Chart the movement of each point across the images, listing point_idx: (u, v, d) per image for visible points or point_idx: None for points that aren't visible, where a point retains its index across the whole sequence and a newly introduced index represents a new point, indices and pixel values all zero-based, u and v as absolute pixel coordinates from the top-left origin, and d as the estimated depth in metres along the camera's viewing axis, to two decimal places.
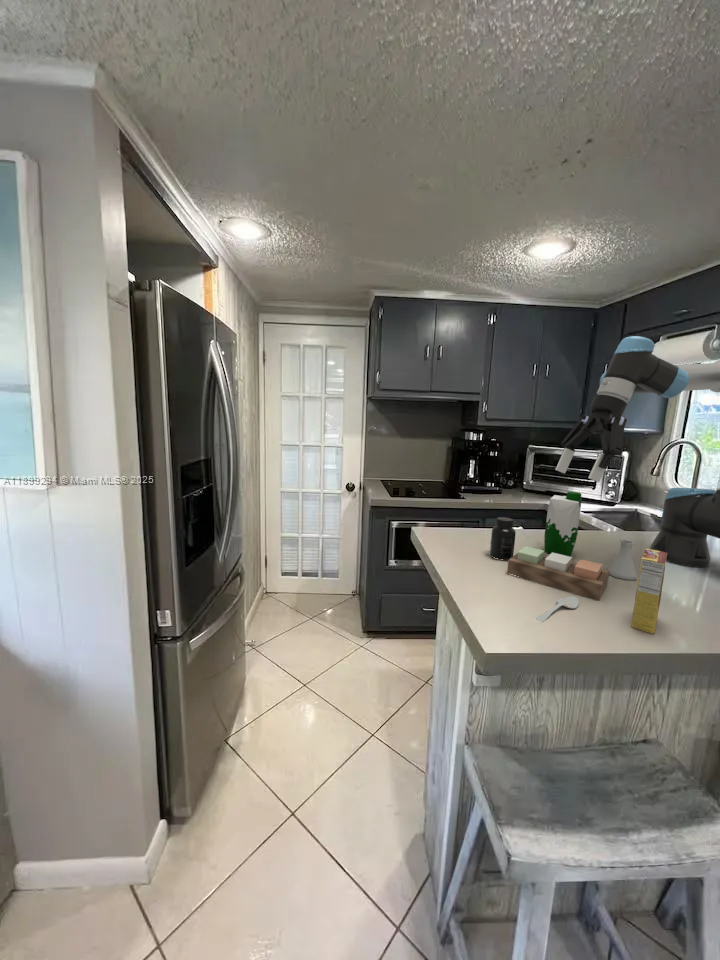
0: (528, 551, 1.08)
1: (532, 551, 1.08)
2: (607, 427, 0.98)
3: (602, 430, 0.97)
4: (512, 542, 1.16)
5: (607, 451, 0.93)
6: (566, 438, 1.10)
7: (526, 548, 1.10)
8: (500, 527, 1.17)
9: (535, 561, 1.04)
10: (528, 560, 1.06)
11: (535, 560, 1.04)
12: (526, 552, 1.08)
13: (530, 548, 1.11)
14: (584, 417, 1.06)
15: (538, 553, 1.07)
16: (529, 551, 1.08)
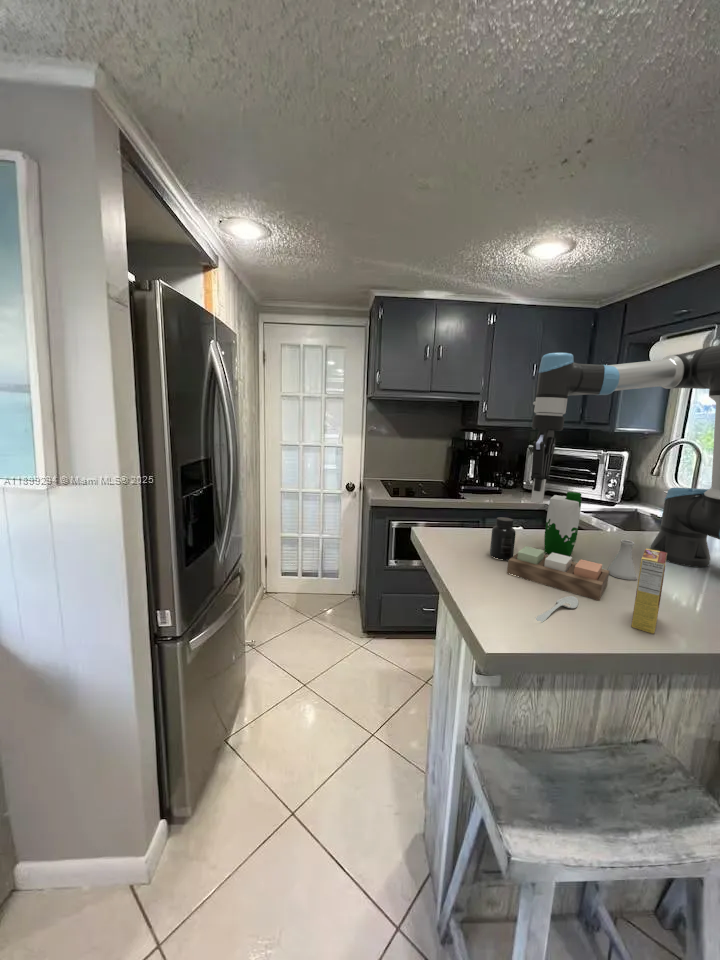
0: (528, 551, 1.08)
1: (532, 551, 1.08)
2: None
3: None
4: (512, 542, 1.16)
5: (533, 477, 1.05)
6: None
7: (526, 548, 1.10)
8: (500, 527, 1.17)
9: (535, 561, 1.04)
10: (528, 560, 1.06)
11: (535, 560, 1.04)
12: (526, 552, 1.08)
13: (530, 548, 1.11)
14: None
15: (538, 553, 1.07)
16: (529, 551, 1.08)
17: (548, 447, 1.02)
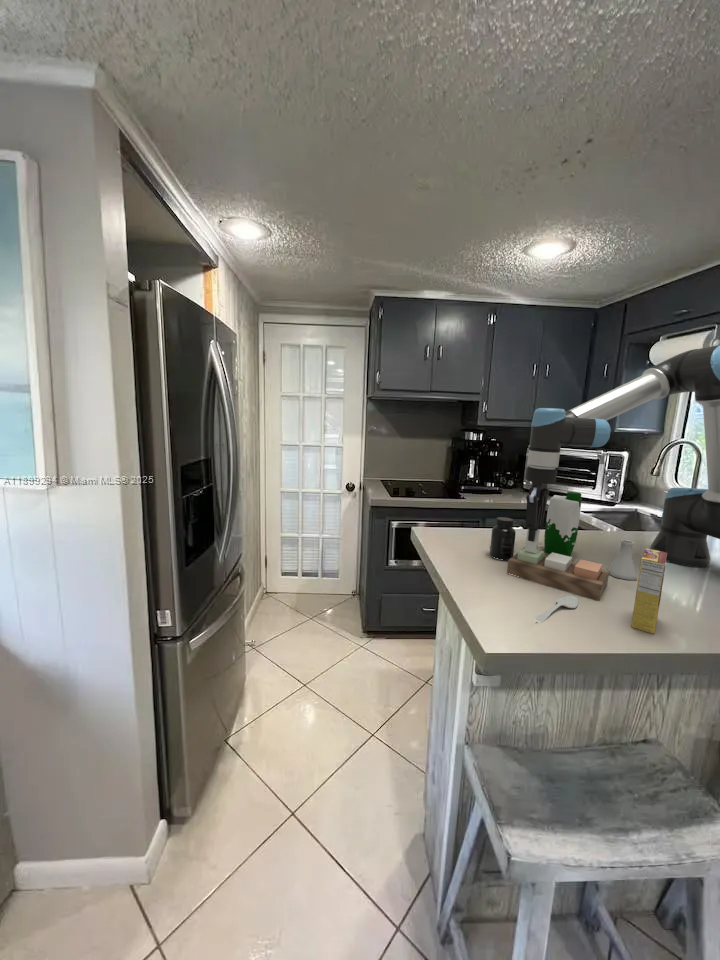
0: (527, 552, 1.08)
1: None
2: None
3: None
4: (512, 542, 1.16)
5: (527, 527, 1.06)
6: None
7: None
8: (500, 527, 1.17)
9: (535, 562, 1.05)
10: (528, 561, 1.06)
11: (535, 561, 1.05)
12: (526, 553, 1.08)
13: None
14: None
15: (538, 554, 1.07)
16: (529, 553, 1.08)
17: (541, 499, 1.03)
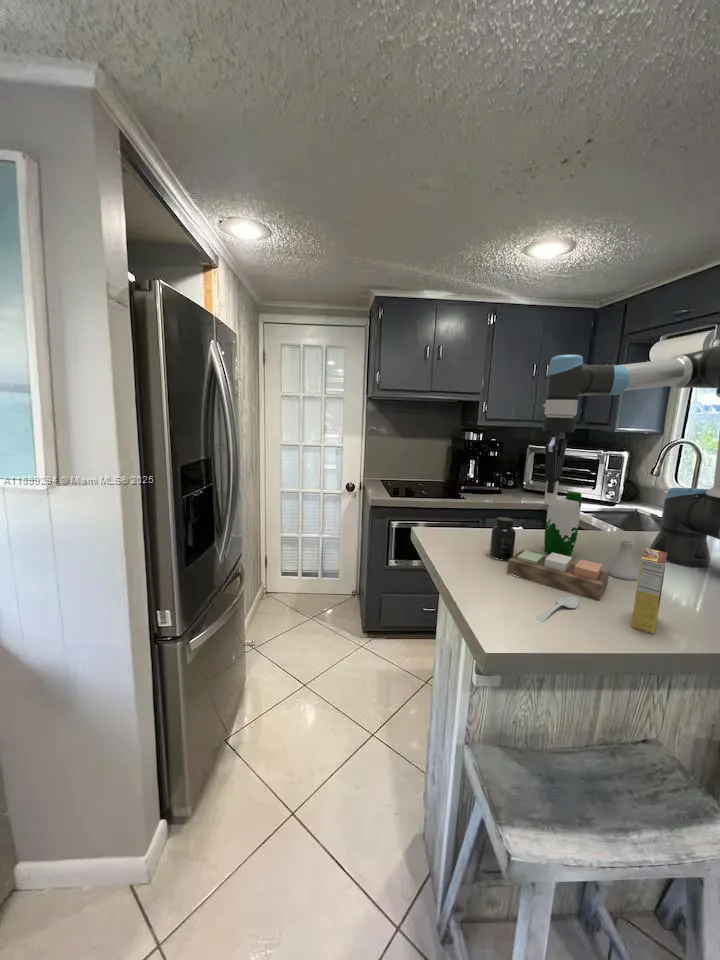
0: (527, 556, 1.08)
1: (531, 555, 1.09)
2: None
3: None
4: (512, 542, 1.16)
5: (546, 479, 1.05)
6: None
7: (525, 552, 1.11)
8: (500, 527, 1.17)
9: None
10: None
11: None
12: (525, 556, 1.08)
13: (529, 552, 1.11)
14: None
15: (537, 558, 1.07)
16: (529, 556, 1.08)
17: (560, 449, 1.02)
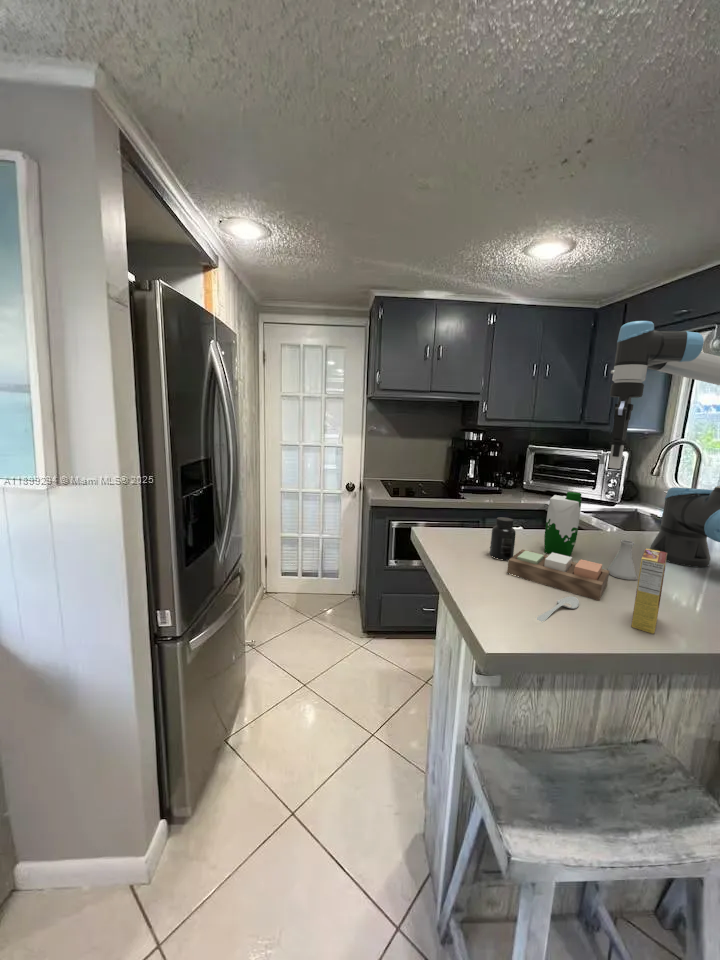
0: (527, 556, 1.08)
1: (531, 555, 1.09)
2: None
3: None
4: (512, 542, 1.16)
5: (612, 443, 1.09)
6: None
7: (525, 552, 1.11)
8: (500, 527, 1.17)
9: None
10: None
11: None
12: (525, 556, 1.08)
13: (529, 552, 1.11)
14: None
15: (537, 558, 1.07)
16: (529, 556, 1.08)
17: (628, 413, 1.06)
